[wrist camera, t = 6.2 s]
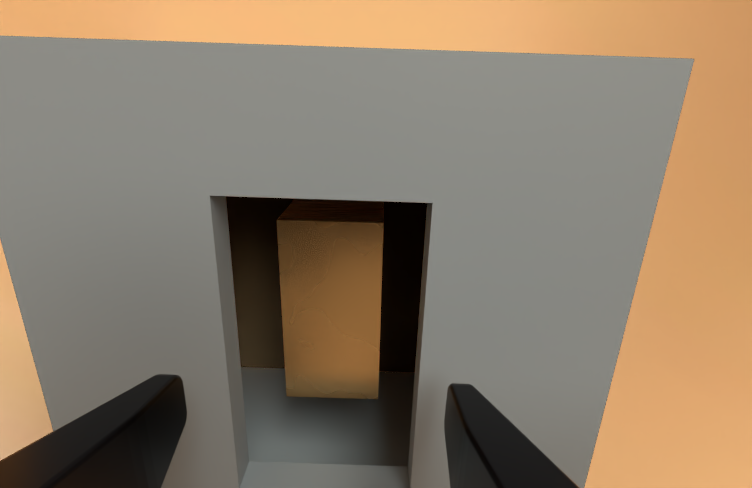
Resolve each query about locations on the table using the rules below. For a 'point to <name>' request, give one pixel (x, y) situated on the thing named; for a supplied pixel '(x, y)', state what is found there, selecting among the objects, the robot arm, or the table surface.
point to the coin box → (332, 182)
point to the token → (331, 296)
